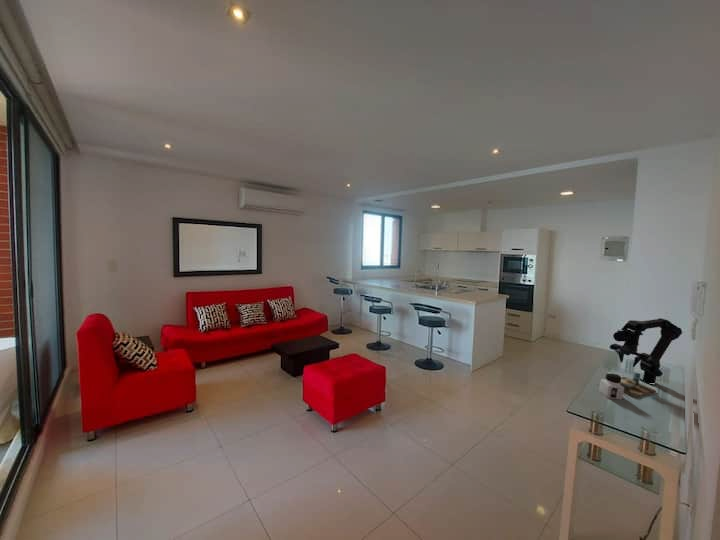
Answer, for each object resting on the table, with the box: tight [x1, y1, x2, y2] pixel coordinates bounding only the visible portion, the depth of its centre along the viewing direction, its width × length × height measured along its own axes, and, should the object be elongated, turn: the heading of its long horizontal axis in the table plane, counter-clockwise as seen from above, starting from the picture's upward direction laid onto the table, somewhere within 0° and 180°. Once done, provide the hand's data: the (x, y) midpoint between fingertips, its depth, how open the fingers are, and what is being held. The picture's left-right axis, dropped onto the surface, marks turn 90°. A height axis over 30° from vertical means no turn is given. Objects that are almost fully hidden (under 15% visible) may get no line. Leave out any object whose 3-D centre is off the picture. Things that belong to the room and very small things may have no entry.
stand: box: [620, 376, 657, 399], centre depth 177 cm, size 20×16×6 cm
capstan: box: [621, 372, 641, 390], centre depth 178 cm, size 14×11×6 cm
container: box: [598, 372, 624, 401], centre depth 168 cm, size 8×8×13 cm
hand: (627, 364), depth 182 cm, fingers open, 6 cm apart
